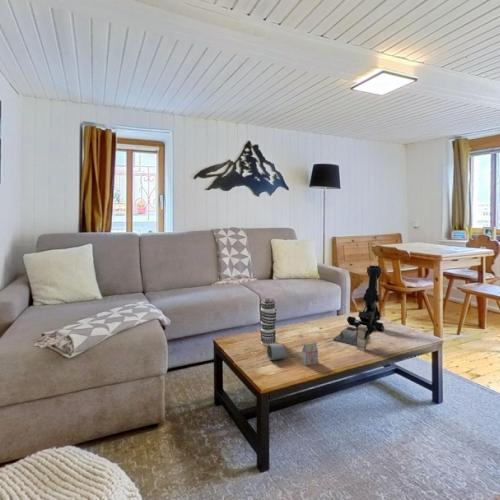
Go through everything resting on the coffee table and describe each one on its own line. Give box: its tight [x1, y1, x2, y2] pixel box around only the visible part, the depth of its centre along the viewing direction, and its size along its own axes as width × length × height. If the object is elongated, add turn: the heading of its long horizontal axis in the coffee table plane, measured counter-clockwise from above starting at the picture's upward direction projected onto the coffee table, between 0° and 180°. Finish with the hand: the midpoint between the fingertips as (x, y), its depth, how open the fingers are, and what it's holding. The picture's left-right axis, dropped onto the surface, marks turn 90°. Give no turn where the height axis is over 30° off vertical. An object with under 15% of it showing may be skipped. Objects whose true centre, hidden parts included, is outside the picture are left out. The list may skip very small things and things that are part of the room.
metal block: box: [356, 325, 367, 352], centre depth 175 cm, size 4×4×12 cm
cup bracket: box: [333, 325, 370, 347], centre depth 190 cm, size 18×14×6 cm
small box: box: [301, 341, 319, 367], centre depth 160 cm, size 4×7×10 cm, turn 113°
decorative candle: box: [259, 297, 277, 346], centre depth 183 cm, size 9×9×25 cm
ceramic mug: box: [266, 343, 287, 361], centre depth 166 cm, size 11×8×8 cm
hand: (361, 338), depth 174 cm, fingers closed on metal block, 4 cm apart
